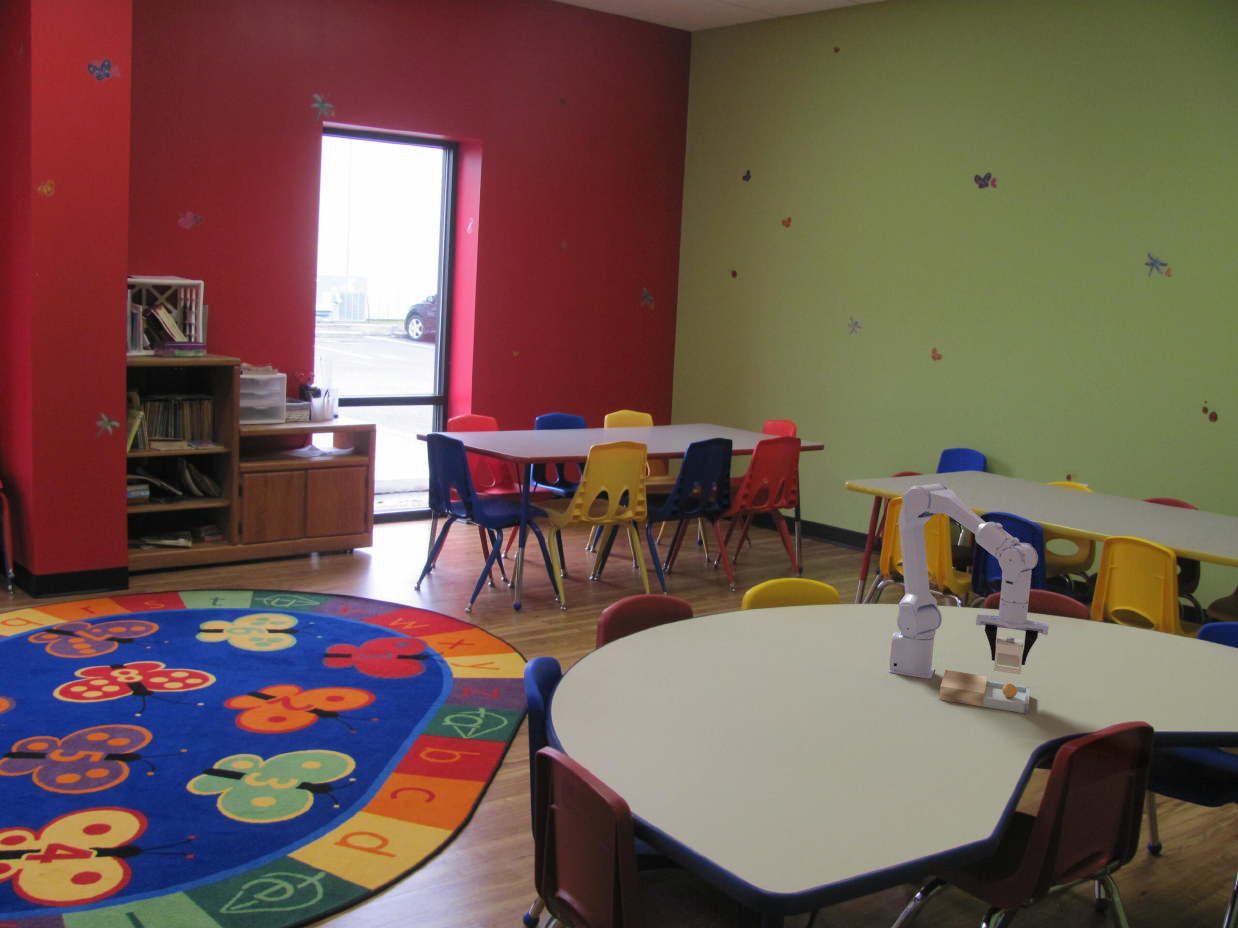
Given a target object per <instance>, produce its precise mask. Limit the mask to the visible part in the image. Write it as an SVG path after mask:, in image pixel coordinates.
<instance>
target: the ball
mask: <svg viewBox="0 0 1238 928" xmlns="http://www.w3.org/2000/svg"><path fill="white" fill-rule="evenodd" d="M1014 685H1015V684H1013V683H1006V685H1004V687H1003V689H1002V692H1003V694H1004V695H1005V696H1006V697H1008V698H1012V697H1014V696H1016V694H1017V688H1016V687H1015V686H1014Z"/></svg>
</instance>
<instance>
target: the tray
mask: <svg viewBox="0 0 1238 928" xmlns="http://www.w3.org/2000/svg"><path fill="white" fill-rule="evenodd" d="M1006 684H1007V683H1005V682H998V681H993V680H992V681H991V680H987V685H986V691H985V696H984V702H983V706H982V707H983V708H989V709H997V710H1002V711H1008V712H1009V711H1010V712H1013V713H1014V712H1016V713H1021V714H1027V715H1028V714H1029V711H1030V710H1029V709H1030V694H1031V693H1030V692H1031V686H1025V685H1019V684H1018V685H1017V684H1013V685H1014V686H1015V687H1016V688H1017V694H1016V696H1014V697H1012V698H1008V697H1006V696H1005V695H1004V694H1003V692H1002V689H1003V687H1004V685H1006Z"/></svg>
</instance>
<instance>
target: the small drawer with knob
mask: <svg viewBox="0 0 1238 928" xmlns="http://www.w3.org/2000/svg"><path fill="white" fill-rule="evenodd" d="M1024 643H1025V639H1024V640H1023V639H1015V638H1014V637H1011V636H1010V637H1009V636H1007V637H1003V636H1002V637H1001V636H997V637H996V652H995V661H994V666H993V671H994V672H1001V673H1007V674H1014V675H1021V674H1022V666H1023V665H1022V655H1023V650H1024Z"/></svg>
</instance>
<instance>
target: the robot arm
mask: <svg viewBox="0 0 1238 928" xmlns="http://www.w3.org/2000/svg"><path fill="white" fill-rule="evenodd" d="M901 501H902V502H901V503H902V505H901V508H900V512H899V516H898V527H899V528H898V529H899V530H898V531H899V539H900V550H901V561H902V573H903V582H904V583H903V584H904V596H903V597H902V598H901V600H900V601H899V603H898V612H897V613H898V614H897V616H896V625H897V628H898V630H899V631H894V632H893V634H892V637H891V644H890V645H891V646H890V655H889V670H888V672H889V673H890V674H896V675H903V676H909V677H916V678H921V679H928V680H931V679H932V678H933V675H934V672H935V667H933V658H934V657H933V655H934V644H935V635H936V632H937V630H938V629H939V628H940V627H941V625H942V622H943V617H942V613H941V611H940V609H939V606H938V599H936V597H935V596H934V595H933V594H932V593H931V592H930V591H931V590H930V580H929V567H928V559H927V548H926V547H927V546H926V536H925V524H927V522H928V521H929V520H930V519H931V518H932V517H933V516H935V515H936V514H938V515H939V514H942V515H943V514H944V515H948V516H949V517H950V518H952V519H953V520H955V522H957V523H958V524H960V525H962V526H963V527H964V528H966V529H967V530H968V531H970V532H971V533H972V534H974V540H975V542H976V543H977V544H978V545H979V546H980V547H982V548H983V549H984V550H985V551H987V552H988V553H989V554H990V555H992V556H993V557H995V559H997V561H998V564H999V567H1000V568H1001V578H1002V579H1001V587H1000V588H1001V589H1000V597H999V605H998V606H999V607H998V615H992V614H991V615H990V614H989V615H988V614H976V619H975V620H976V621H975V626H979V627H980V626H984V633H985V635H986V638H987V641H988V645H989V648H990V653H991V661H994V662H995V652H996V642H997V637H998V636H997V634H998V628H999V629H1001V628H1002V629H1009V630H1015V631H1017V630H1018V631H1023V632H1025V633H1024V644H1023V655H1022V665H1021V666H1025V665H1026V661H1027V658H1028V656H1029V653H1030V651H1031V649H1032V647H1033V646H1034V645H1035V642H1036V641H1037V639H1038V636H1039V634H1042V635H1046V636H1048V635H1049V634H1048V633H1049V623H1044V622H1039V621H1033V620H1030V619H1028V611H1029V602H1030V601H1029V600H1030V590H1031V583H1032V581H1031V580H1032V569H1034V568H1036V566H1037V565H1038V561H1039V555H1038V552H1037V550H1036V548H1034V547H1033V545H1032V544H1031V543H1027V542H1020V539H1019V538H1018V537H1014V536H1012V535H1011V534H1010V533H1008V532H1007V531H1006V530H1005V529H1004V528H1003V525H1002V524H1001V523H1000V522H995V521H989V522H986V521H985V520H984V519H983V518H981V517H980V516H979V515H978V514H977V513H975V512H974V511H973V510H972V509H971V508H970V507H969V506H968V505H967V504H965V503H964V502H963V501H962V500H960V498H958V497H957V495H956V492H955V491H954V490H952V489H950V488H949V487H947V486H946V485H945V484H944V483H939V482H936V483H933V484H924V485H923V484H922V485H913V486H911V487H909V488H908V489H907V490H906V491H905V492H904V493H903V494H902V495H901Z"/></svg>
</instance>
